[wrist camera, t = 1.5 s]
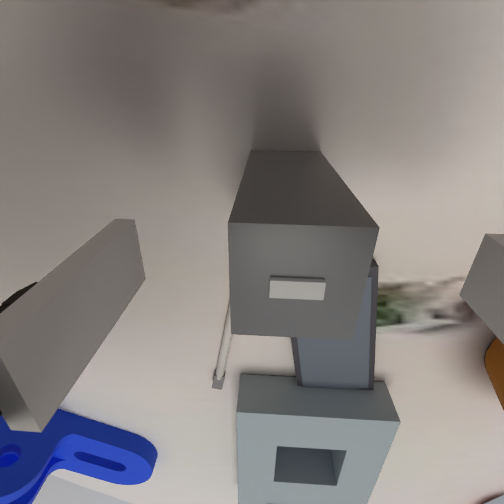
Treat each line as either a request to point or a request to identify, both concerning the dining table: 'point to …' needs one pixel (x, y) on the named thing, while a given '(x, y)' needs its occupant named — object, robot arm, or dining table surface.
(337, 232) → the plug
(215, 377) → the usb cable
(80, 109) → the dining table surface
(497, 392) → the flower pot
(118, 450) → the bracket
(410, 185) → the dining table surface
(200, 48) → the dining table surface
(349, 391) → the plate
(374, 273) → the phone
